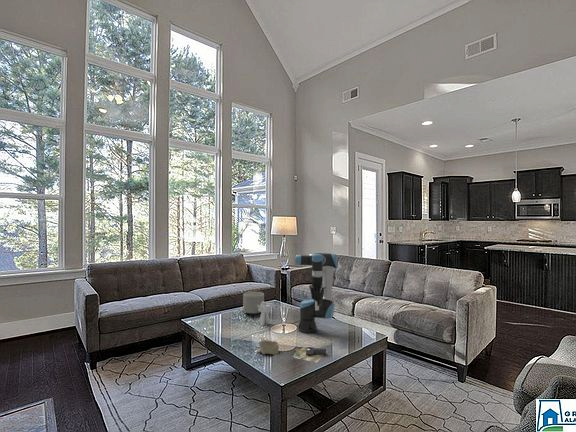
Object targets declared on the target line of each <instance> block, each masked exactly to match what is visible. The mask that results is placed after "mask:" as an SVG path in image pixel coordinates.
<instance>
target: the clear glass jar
mask: <svg viewBox="0 0 576 432" xmlns="http://www.w3.org/2000/svg"><path fill="white" fill-rule="evenodd" d="M273 303H274V302H273ZM273 303H269V302H266V301H264V302H261V304H260V305H257V306H258V308H259V309H258V311H260V317H259V318H258V320H257V324H260V326H264V325H272V323H273V322H272V321H271V319H270V316H269V312H271V311H272V308H271V305H273Z"/></svg>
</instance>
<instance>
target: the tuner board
mask: <svg viewBox="0 0 576 432" xmlns="http://www.w3.org/2000/svg"><path fill="white" fill-rule="evenodd" d="M307 347H308V346H303V347H302V348H301V349H300V350H306V348H307ZM328 352H329V351H328V350H326V354H327V353H328ZM324 356H325V355H319V354H315V355H312V356H309V355H306V351H295V353H294V355H293V356H292V358H295V359H298V360H303V361H307V362H312V363H316V364H318V362H320V360H321V359H322V358H323V357H324Z"/></svg>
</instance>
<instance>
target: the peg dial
mask: <svg viewBox="0 0 576 432" xmlns="http://www.w3.org/2000/svg"><path fill="white" fill-rule="evenodd" d="M306 347H307V348H306V350H301V349H295V350H294V351H295V352H298V351H306V355H309V356H312V355H315V354H319V355H324V356H325V355H327V353H326V351H327V349H326V348H315V347H314V346H306Z"/></svg>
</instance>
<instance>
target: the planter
mask: <svg viewBox="0 0 576 432" xmlns="http://www.w3.org/2000/svg"><path fill="white" fill-rule="evenodd" d="M242 295H243V298H242V299H243V301H242V304H243V305H242V306H243V312H244V313H246V314H249V315H251V316H254V315H256V316H257V315H258V314H261V312H260V311H258V309H259V308H258V306H257V305H260V304H261V302H265V293H264V292H262V291H248V292H244V293H243V294H242Z"/></svg>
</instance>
